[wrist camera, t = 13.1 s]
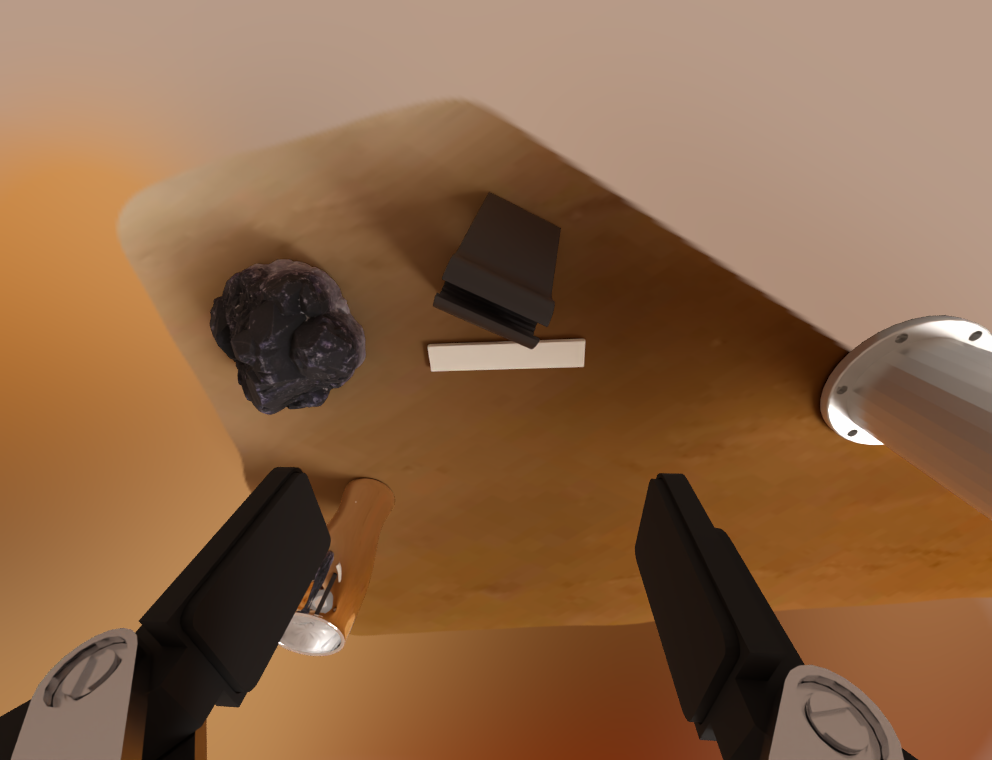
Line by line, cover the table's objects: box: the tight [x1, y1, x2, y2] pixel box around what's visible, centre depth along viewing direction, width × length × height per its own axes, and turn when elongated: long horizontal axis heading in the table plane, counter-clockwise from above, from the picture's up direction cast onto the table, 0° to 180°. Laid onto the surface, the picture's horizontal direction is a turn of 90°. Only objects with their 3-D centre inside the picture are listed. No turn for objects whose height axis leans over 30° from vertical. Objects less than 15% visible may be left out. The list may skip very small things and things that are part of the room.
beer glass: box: [278, 478, 395, 656], centre depth 36 cm, size 7×7×15 cm
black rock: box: [210, 259, 366, 415], centre depth 29 cm, size 13×14×10 cm
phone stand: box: [433, 192, 561, 349], centre depth 24 cm, size 9×6×12 cm, turn 155°
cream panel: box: [428, 339, 585, 371], centre depth 32 cm, size 14×2×1 cm, turn 93°
